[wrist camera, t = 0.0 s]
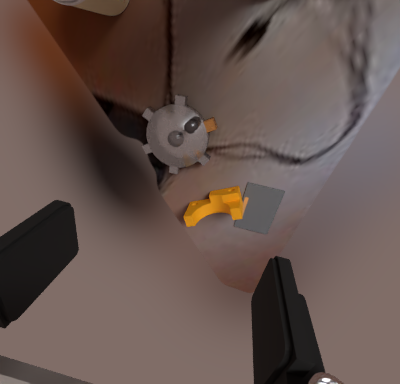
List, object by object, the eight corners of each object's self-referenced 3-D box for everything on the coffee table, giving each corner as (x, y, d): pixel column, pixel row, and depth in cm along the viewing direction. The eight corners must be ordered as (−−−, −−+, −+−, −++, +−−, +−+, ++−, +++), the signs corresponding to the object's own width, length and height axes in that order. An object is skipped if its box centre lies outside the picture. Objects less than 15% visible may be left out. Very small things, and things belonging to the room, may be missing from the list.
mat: (248, 182, 48) (247, 182, 48) (284, 191, 47) (285, 191, 47) (233, 225, 54) (233, 226, 53) (266, 234, 53) (266, 234, 53)
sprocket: (147, 87, 41) (130, 89, 35) (222, 103, 40) (218, 109, 34) (143, 162, 48) (128, 175, 42) (206, 177, 47) (201, 192, 41)
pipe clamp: (238, 185, 48) (237, 199, 43) (242, 203, 50) (242, 218, 44) (187, 195, 52) (180, 209, 46) (193, 211, 54) (187, 226, 48)
